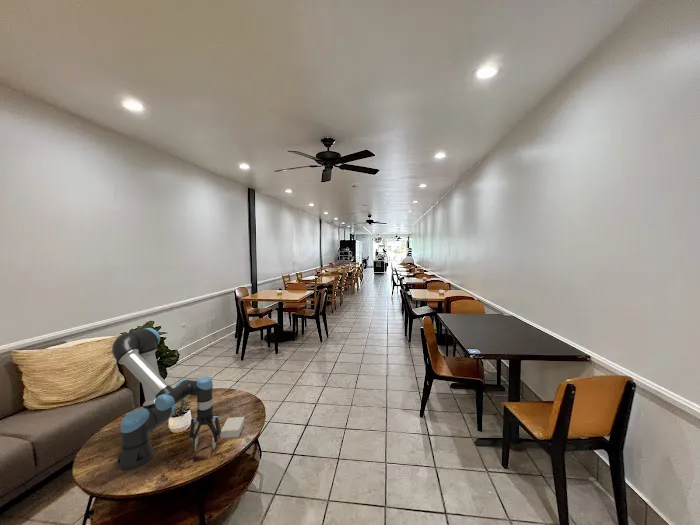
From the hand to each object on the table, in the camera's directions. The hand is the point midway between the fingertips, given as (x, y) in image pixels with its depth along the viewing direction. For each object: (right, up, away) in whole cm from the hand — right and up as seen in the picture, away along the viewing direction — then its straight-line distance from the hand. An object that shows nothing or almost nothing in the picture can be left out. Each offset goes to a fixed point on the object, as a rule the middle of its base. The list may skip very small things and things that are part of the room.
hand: (205, 448), depth 154 cm
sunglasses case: (0, -1, 0) cm, 1 cm away
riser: (+8, 0, +17) cm, 19 cm away
